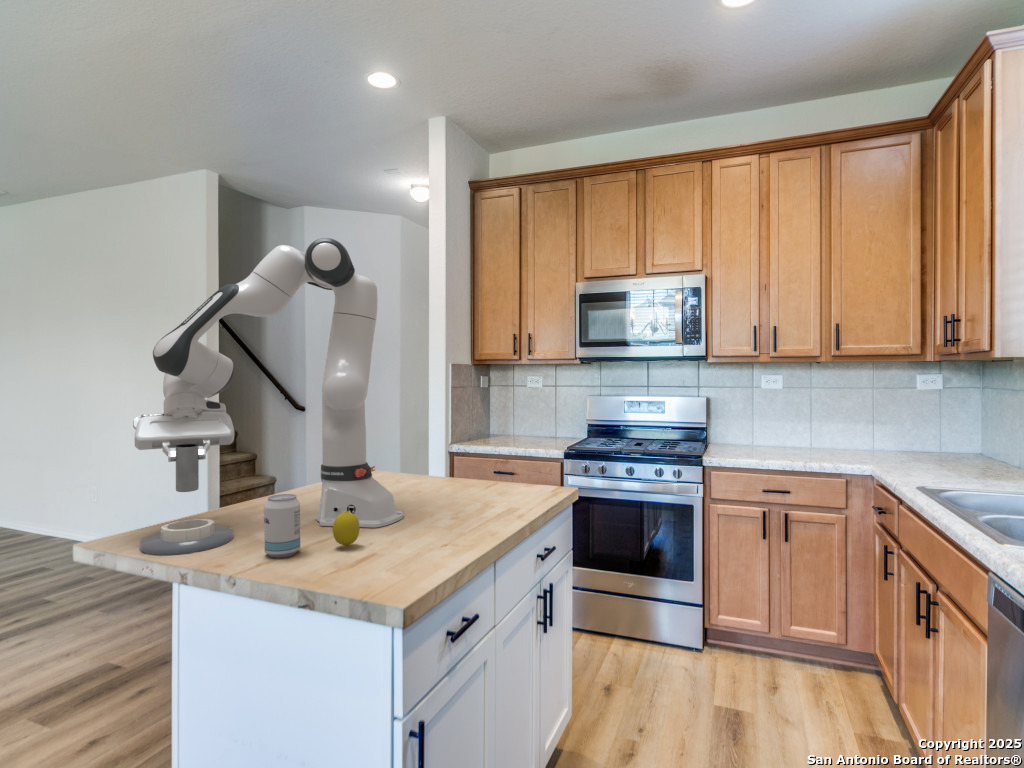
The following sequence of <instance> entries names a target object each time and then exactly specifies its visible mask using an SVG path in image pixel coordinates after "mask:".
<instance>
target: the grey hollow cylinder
mask: <svg viewBox="0 0 1024 768" xmlns="http://www.w3.org/2000/svg"><path fill="white" fill-rule="evenodd" d="M199 447H200V446H199V445H197V444H181V445H177V446H176V448H175V451H176V461H175V491H176V492H178V493H190V492H195V491H198V490H199V489H200V488H199V484H200V483H199V480H200V479H199V475H200V473H199V471H200V470H199V469H200V468H199V467H200V466H199V465H200V463H199V461H200V460H199V459H198V458H199V457H198V454H199V453H198V452H199V450H200V449H199Z"/></svg>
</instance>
